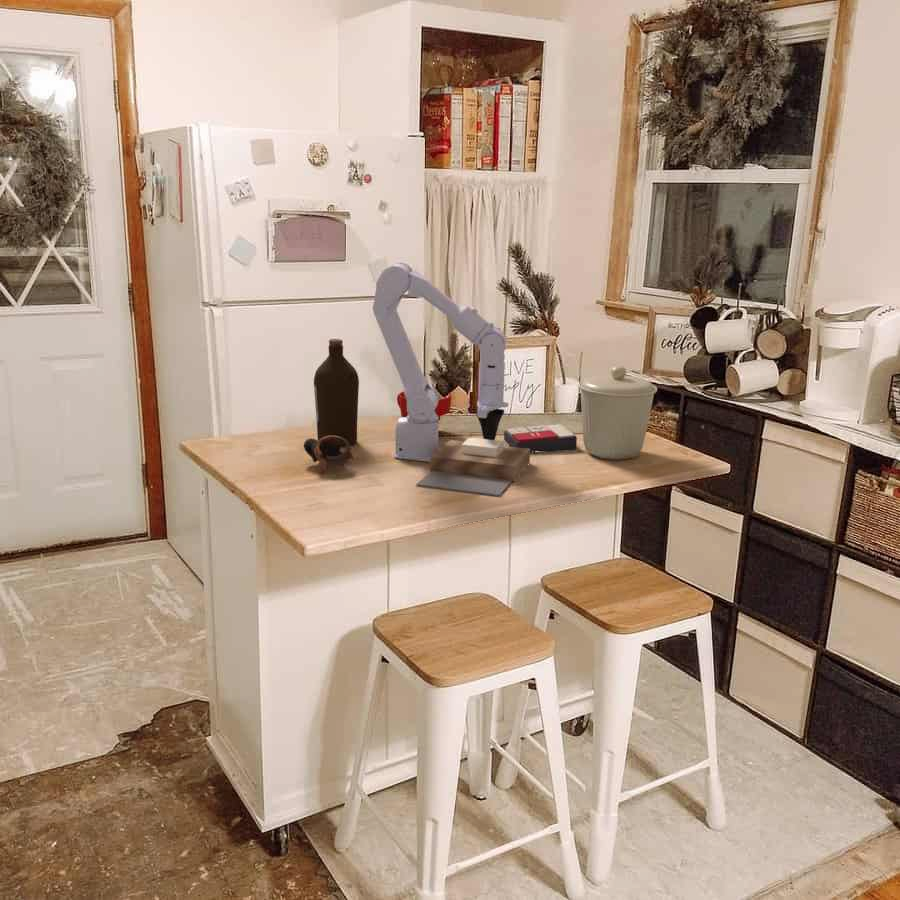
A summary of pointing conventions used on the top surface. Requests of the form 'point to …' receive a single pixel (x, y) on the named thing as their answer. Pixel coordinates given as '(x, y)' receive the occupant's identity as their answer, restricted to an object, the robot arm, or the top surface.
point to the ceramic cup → (440, 410)
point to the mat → (464, 483)
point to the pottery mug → (328, 452)
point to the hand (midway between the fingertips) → (489, 441)
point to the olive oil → (336, 396)
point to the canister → (615, 413)
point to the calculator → (541, 438)
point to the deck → (480, 462)
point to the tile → (482, 447)
